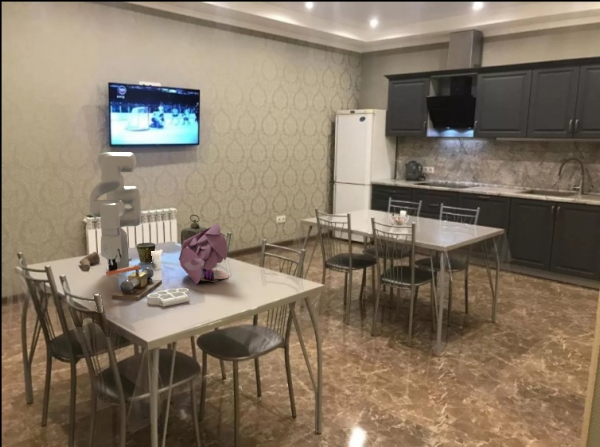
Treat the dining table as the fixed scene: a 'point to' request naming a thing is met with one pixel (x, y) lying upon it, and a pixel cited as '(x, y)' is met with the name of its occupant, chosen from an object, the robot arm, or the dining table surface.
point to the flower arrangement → (204, 255)
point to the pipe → (89, 260)
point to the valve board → (138, 291)
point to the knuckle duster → (169, 297)
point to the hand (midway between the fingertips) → (113, 273)
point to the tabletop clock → (191, 230)
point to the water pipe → (136, 281)
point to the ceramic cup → (145, 252)
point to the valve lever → (123, 270)
